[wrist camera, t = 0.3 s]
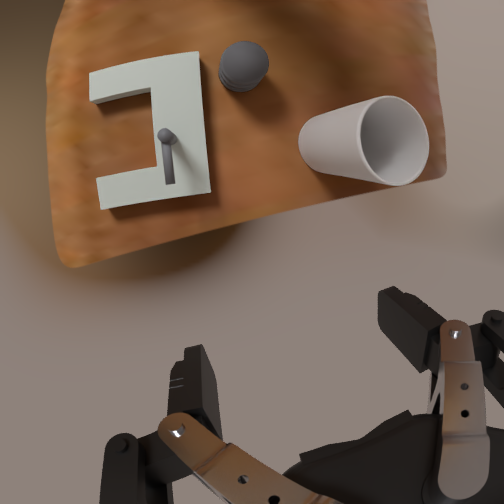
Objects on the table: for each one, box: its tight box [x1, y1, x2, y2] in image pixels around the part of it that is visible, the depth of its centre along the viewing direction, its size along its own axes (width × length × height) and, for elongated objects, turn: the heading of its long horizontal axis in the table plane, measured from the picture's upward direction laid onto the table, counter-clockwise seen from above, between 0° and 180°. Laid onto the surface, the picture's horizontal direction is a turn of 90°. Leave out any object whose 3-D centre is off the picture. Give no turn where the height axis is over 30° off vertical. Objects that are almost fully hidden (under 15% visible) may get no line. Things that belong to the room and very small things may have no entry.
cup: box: [298, 96, 429, 186], centre depth 29 cm, size 8×8×16 cm
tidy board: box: [89, 51, 211, 210], centre depth 29 cm, size 18×14×8 cm
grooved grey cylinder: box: [219, 41, 269, 92], centre depth 29 cm, size 5×5×6 cm
